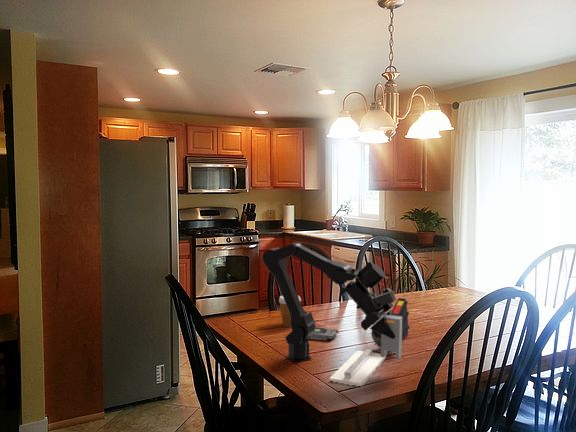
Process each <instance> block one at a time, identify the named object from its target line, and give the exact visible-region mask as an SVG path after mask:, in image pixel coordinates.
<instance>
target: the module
mask: <svg viewBox="0 0 576 432" xmlns="http://www.w3.org/2000/svg"><path fill="white" fill-rule="evenodd" d="M384 316H385V315H384ZM384 316H383V317H384ZM386 323H387V324H388V326H389V327H390V329H391V330H392V332H393V333H394V335H395V338H394V339H392V338H390V337H388V336H386V335H384V334H381V347H380V348H381V353H380V354H381V357H385V355H386V356H387V355H388V354H387V351H392V352H396V354H395V360H400V359H401V357H402V347H403V346H402V342H403V339H402V317H400V316H392V315H386Z"/></svg>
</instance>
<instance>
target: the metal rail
mask: <svg viewBox="0 0 576 432" xmlns="http://www.w3.org/2000/svg"><path fill="white" fill-rule="evenodd" d="M364 351H365V352H364V353H363V354H362V355H361V356H360V357H359V358H358V359H357V360H356V361H355V362H354V363H353V364H352V365H351V366H350V367H349V368H348V369H347V370H346V371H345V372H344V378H347V379H351V378H352V377H353V376H354V375H355V374H356V373H357V372H358V371H359V370H360V368H361V367H362V366H363V365H364V364H365V363H366V362H367V361H368V360H369V358H370V357H371V356H372V355H373V353H374V349H373V348H367V349H365V350H364Z"/></svg>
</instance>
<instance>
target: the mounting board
mask: <svg viewBox="0 0 576 432" xmlns="http://www.w3.org/2000/svg"><path fill="white" fill-rule="evenodd" d="M365 351H366V350H357V351H355V353H354V354H352V356H351V357H349V358H348V359H347V360H346V361H345V363H343V365H341V367H339V368H338V370H336V371H335V372H334V373H333V374H332V375H331V376H330V377H329V382H330V381H333V382H332V383H335V382H338V383H337V384H341V383H344V384H343V385H347V384H349V385H348V386H352V385H356V386H355V387H358V386H362V385H363V384H364V383H365V384H366V382H367V381H368V380H369V379H370V378H371V376H372V375H373V374H374V373H375V372H376V370H377V369H378V368H379V367H380V365H381V364H382V361H383V362H384V361H385V359H386V358H387V354H386V355H385V357H381V353H379V352H377V353H376V352H373V355H372V356H371V357H370V358H369V360H368V361H367V362H366V363H365V364H364V365H363V366H362V367H361V368H360V370H359V371H358V372H357V373H356V374H355V375H354V376H353V377H352V378H351V379H347V378H344V372H345V371H346V370H347V369H348V368H349V367H350V366H351V365H352V364H353V363H354V362H355V361H356V360H357V359H358V358H359V357H360V356H361V355H362V354H363V353H364V352H365ZM377 367H378V368H377ZM376 368H377V369H376ZM373 372H374V373H373ZM372 373H373V374H372ZM369 377H370V378H369ZM368 378H369V379H368ZM367 379H368V380H367ZM365 384H364V385H365ZM364 385H363V386H364ZM363 386H362V387H363Z"/></svg>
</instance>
